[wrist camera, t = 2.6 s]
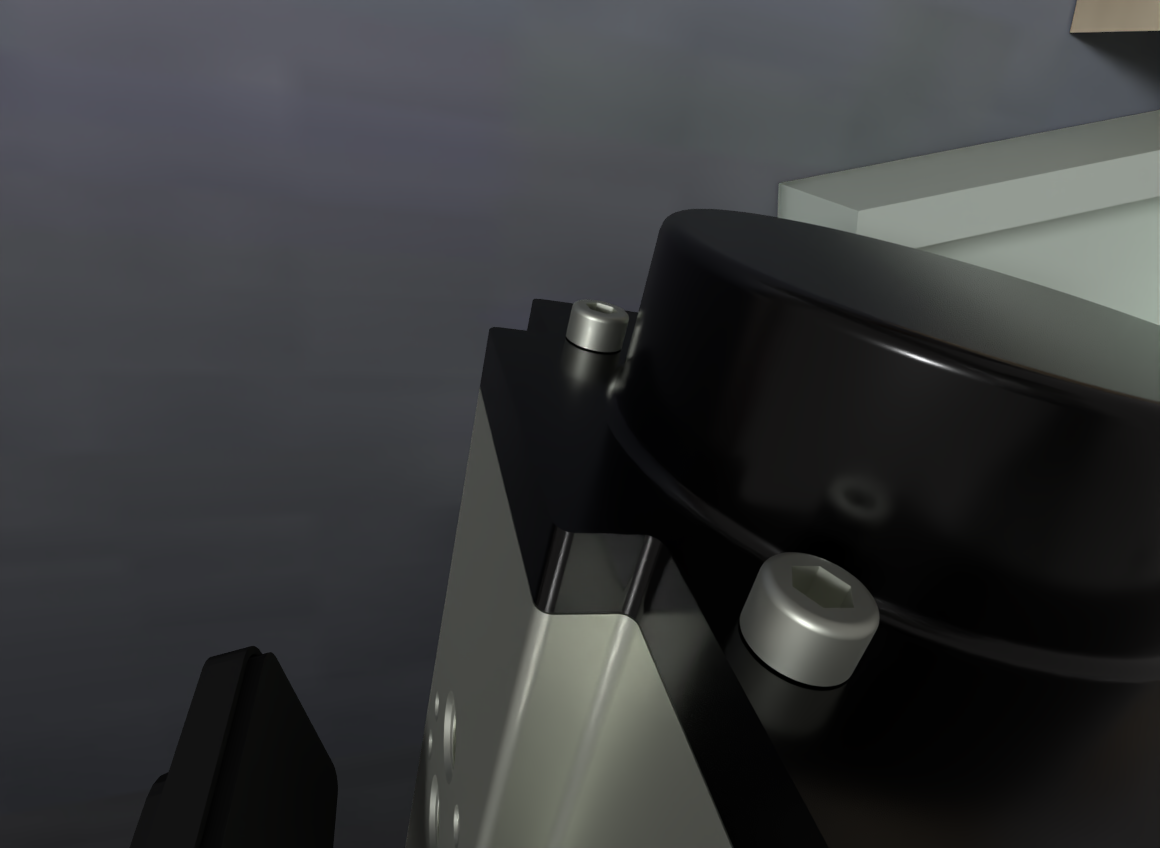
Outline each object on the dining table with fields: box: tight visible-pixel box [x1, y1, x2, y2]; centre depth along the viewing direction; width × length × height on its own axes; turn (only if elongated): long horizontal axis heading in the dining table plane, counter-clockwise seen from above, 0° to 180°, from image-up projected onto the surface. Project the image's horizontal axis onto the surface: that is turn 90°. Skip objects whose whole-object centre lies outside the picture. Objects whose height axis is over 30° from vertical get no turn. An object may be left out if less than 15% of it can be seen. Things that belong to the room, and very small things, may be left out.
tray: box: [778, 110, 1160, 326], centre depth 16 cm, size 17×11×2 cm, turn 8°
